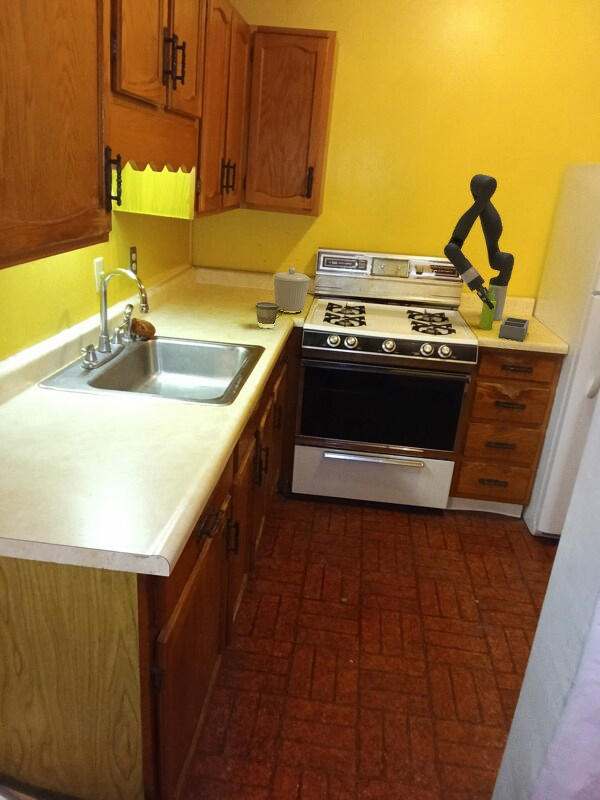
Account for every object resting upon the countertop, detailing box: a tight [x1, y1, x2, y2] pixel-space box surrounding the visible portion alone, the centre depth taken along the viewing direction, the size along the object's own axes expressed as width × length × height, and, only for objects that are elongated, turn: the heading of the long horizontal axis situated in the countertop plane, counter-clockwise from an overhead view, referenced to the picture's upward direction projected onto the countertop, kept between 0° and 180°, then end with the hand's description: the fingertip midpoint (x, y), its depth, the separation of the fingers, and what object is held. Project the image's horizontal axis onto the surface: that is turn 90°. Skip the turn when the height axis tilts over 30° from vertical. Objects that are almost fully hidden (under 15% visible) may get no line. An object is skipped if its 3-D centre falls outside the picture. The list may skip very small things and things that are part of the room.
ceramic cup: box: [255, 301, 285, 324], centre depth 265 cm, size 13×10×10 cm
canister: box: [272, 267, 312, 312], centre depth 296 cm, size 18×18×21 cm
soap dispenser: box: [478, 285, 501, 330], centre depth 291 cm, size 6×7×20 cm
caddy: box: [497, 316, 530, 343], centre depth 283 cm, size 21×10×6 cm, turn 155°
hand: (493, 307), depth 290 cm, fingers closed on soap dispenser, 6 cm apart
